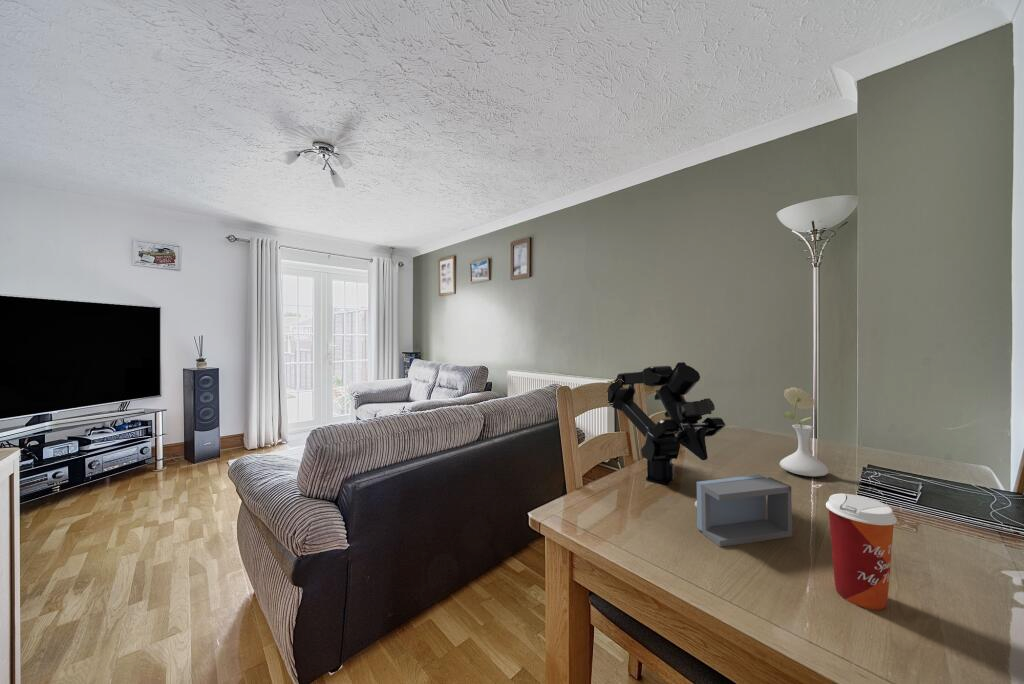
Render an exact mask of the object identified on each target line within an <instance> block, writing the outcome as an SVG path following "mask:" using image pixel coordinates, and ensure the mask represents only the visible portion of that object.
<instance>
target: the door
mask: <svg viewBox="0 0 1024 684" xmlns="http://www.w3.org/2000/svg"><path fill="white" fill-rule="evenodd" d="M760 478H767V477H766V476H764V475H762V474H755V475H753V474H752V475H746V476H743V475H742V476H734V477H728V478H727V477H726V478H719V479H718V478H717V479H707V480H701V481H700V480H699V481H696V501H694V506H695V507H696V526H697V527H696V528H697V529H698V530H699V531H701V532H702V485H704V484H714V483H723V482H732V481H741V480H751V479H760ZM709 497H710V527H714V526H722V525H729V524H737V523H745V522H752V521H760V520H767V495H764V496H755V497H747V498H738V499H730V500H722V501H719V500H717V499H715V498H714V497H712V496H710V495H709Z"/></svg>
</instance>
